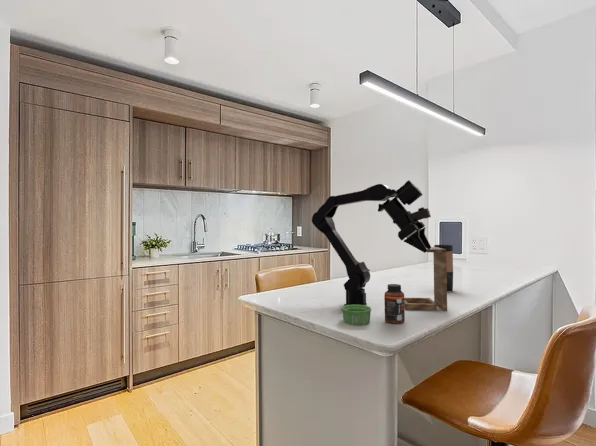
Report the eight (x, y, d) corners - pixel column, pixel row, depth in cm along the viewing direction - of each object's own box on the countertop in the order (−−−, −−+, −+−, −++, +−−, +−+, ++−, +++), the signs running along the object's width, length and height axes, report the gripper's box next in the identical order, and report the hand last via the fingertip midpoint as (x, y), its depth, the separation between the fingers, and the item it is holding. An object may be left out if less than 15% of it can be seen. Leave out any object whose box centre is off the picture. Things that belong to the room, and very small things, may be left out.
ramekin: (377, 322, 107) (377, 308, 107) (356, 328, 101) (356, 313, 101) (356, 316, 114) (356, 303, 114) (336, 321, 109) (335, 307, 109)
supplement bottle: (405, 324, 104) (405, 286, 104) (385, 323, 105) (384, 286, 105) (403, 319, 109) (403, 283, 109) (384, 318, 111) (383, 283, 111)
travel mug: (453, 289, 156) (452, 244, 156) (453, 292, 149) (452, 245, 149) (435, 288, 159) (434, 244, 159) (434, 291, 152) (433, 245, 152)
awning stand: (405, 309, 121) (405, 249, 121) (400, 302, 132) (399, 247, 132) (447, 310, 119) (446, 249, 119) (438, 303, 130) (437, 247, 130)
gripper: (412, 198, 109) (445, 238, 105) (421, 199, 126) (451, 233, 122) (384, 220, 114) (416, 259, 110) (397, 218, 130) (424, 251, 126)
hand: (428, 250), depth 117 cm, fingers open, 9 cm apart
